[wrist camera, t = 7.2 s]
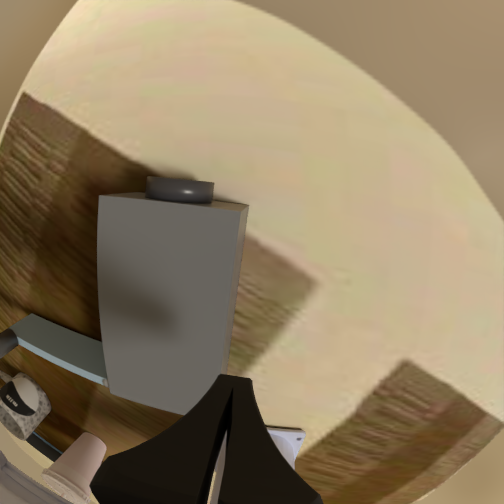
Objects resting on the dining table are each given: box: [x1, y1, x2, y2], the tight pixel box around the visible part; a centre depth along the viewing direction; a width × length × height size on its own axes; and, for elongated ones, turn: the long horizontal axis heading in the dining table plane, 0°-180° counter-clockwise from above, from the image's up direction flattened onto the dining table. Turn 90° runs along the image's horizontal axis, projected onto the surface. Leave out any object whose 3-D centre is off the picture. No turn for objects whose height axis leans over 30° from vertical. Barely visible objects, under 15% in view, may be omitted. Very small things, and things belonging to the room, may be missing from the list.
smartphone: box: [26, 431, 63, 462], centre depth 29 cm, size 7×1×15 cm
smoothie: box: [41, 432, 107, 504], centre depth 19 cm, size 6×6×14 cm
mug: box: [0, 370, 51, 441], centre depth 22 cm, size 10×7×7 cm, turn 64°
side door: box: [0, 313, 109, 387], centre depth 18 cm, size 12×2×8 cm, turn 80°
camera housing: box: [97, 176, 249, 415], centre depth 18 cm, size 15×8×5 cm, turn 172°
